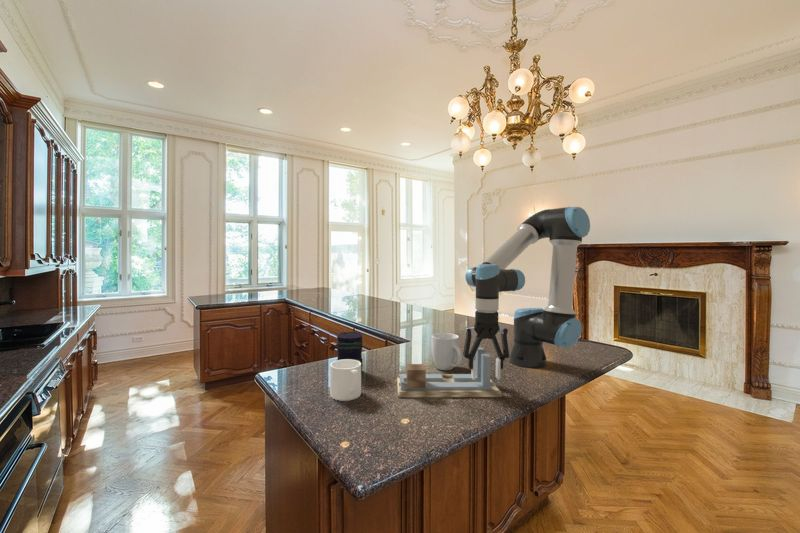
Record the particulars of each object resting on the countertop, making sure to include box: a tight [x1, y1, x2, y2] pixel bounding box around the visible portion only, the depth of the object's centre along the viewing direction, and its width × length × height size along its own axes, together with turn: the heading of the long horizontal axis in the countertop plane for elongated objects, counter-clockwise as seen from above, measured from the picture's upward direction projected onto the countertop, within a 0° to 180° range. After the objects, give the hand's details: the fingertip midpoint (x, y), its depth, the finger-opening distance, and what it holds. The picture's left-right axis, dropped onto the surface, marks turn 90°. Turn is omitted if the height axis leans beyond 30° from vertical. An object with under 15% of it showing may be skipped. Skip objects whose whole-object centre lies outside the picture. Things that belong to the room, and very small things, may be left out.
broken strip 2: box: [452, 346, 485, 382], centre depth 126 cm, size 11×4×11 cm, turn 91°
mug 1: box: [329, 359, 362, 402], centre depth 115 cm, size 13×10×10 cm
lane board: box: [396, 373, 503, 398], centre depth 122 cm, size 34×16×2 cm, turn 91°
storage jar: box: [336, 331, 364, 375], centre depth 136 cm, size 10×10×15 cm
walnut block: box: [405, 363, 427, 388], centre depth 118 cm, size 6×6×6 cm
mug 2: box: [430, 332, 463, 371], centre depth 141 cm, size 15×11×13 cm
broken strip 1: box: [400, 373, 443, 382], centre depth 126 cm, size 15×4×1 cm, turn 91°
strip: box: [401, 353, 492, 391], centre depth 118 cm, size 30×4×11 cm, turn 91°
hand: (485, 378), depth 118 cm, fingers open, 8 cm apart
